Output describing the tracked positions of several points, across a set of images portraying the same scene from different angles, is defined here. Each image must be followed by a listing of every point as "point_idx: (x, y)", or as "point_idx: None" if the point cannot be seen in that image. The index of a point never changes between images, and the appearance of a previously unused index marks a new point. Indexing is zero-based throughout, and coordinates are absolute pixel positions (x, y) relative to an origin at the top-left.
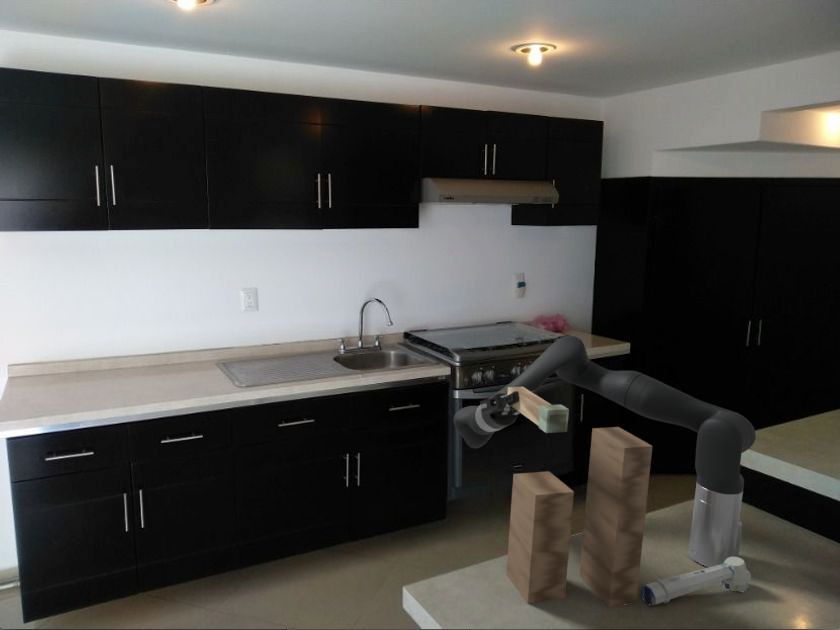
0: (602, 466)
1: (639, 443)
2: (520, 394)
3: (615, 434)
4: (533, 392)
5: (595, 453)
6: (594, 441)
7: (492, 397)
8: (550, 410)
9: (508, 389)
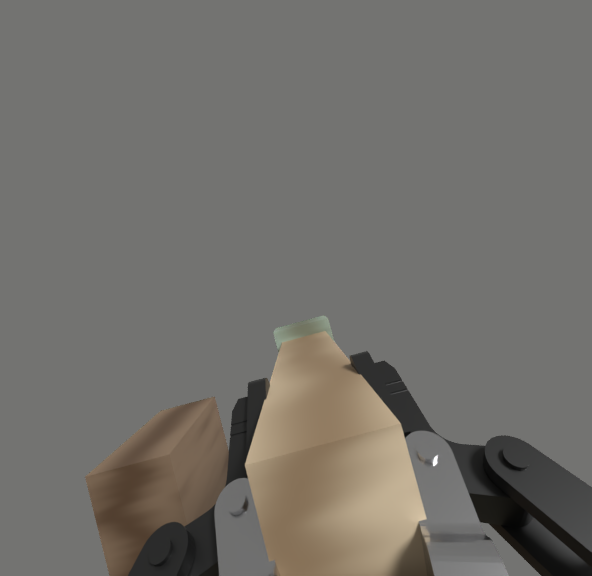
0: (211, 494)
1: (168, 413)
2: (343, 364)
3: (160, 435)
4: (268, 381)
5: (195, 499)
6: (183, 477)
7: (580, 480)
8: (318, 317)
9: (400, 435)
